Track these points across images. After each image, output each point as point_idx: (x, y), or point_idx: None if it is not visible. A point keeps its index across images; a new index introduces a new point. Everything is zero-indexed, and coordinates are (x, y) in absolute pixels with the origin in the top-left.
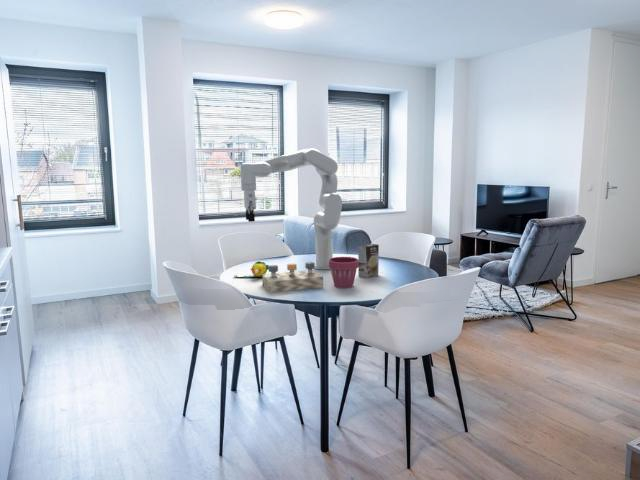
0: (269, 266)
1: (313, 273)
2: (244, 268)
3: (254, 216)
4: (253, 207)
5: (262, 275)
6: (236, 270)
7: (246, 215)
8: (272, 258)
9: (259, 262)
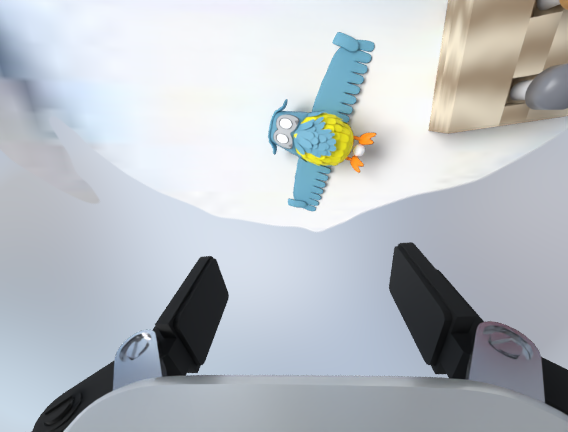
0: (566, 105)
1: None
2: (198, 179)
3: (442, 279)
4: (256, 425)
5: (451, 132)
6: (223, 200)
7: (214, 329)
8: (24, 77)
9: (322, 141)
